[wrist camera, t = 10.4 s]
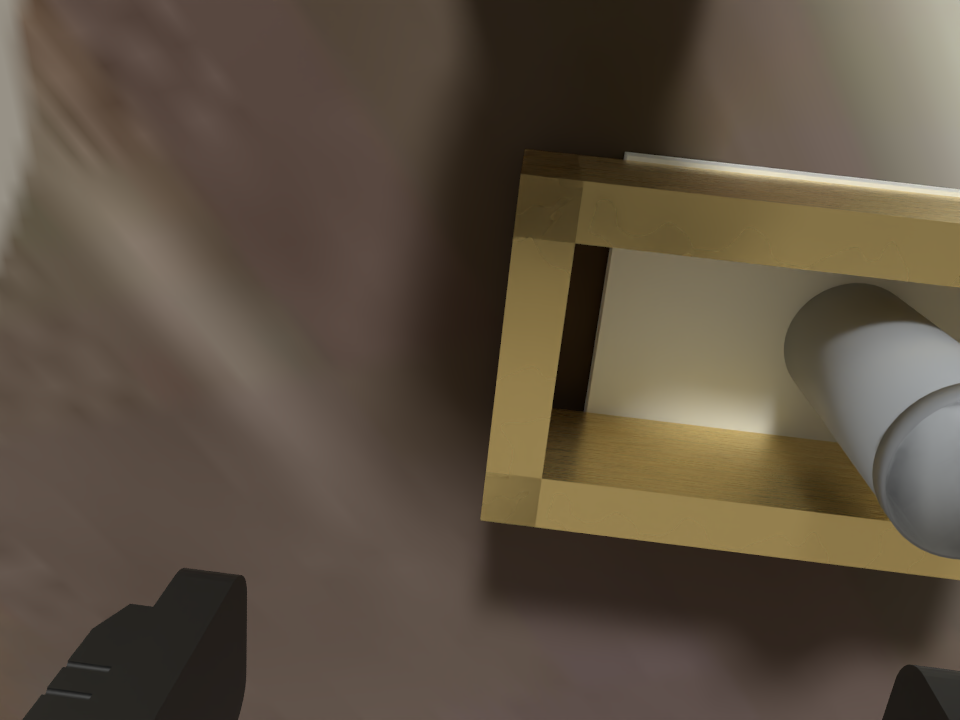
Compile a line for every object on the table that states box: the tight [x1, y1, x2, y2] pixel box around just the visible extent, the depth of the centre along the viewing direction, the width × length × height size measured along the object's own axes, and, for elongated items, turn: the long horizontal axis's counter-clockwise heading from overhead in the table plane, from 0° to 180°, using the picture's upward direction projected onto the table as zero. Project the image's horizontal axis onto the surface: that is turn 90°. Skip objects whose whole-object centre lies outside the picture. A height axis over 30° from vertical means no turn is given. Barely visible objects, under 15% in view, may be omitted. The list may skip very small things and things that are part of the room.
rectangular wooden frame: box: [480, 149, 960, 580], centre depth 23 cm, size 15×9×4 cm, turn 84°
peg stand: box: [584, 152, 960, 560], centre depth 21 cm, size 14×9×9 cm, turn 84°
